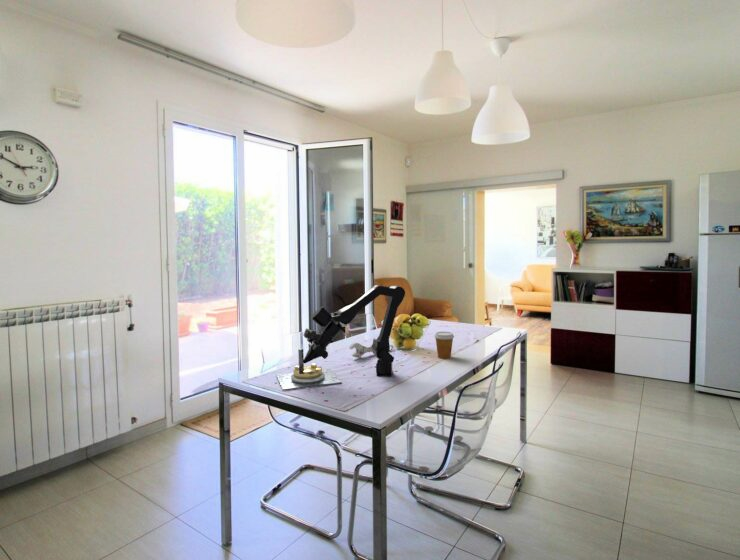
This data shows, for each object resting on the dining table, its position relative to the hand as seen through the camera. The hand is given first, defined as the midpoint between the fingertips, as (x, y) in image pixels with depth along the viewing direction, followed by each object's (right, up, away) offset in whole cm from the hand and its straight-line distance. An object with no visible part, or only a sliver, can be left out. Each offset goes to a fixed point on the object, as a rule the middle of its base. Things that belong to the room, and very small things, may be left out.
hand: (303, 362), depth 178 cm
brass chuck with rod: (+1, -6, +4) cm, 7 cm away
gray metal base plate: (+1, -8, +4) cm, 9 cm away
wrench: (+29, -5, +44) cm, 53 cm away
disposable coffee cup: (+65, -5, +37) cm, 75 cm away
